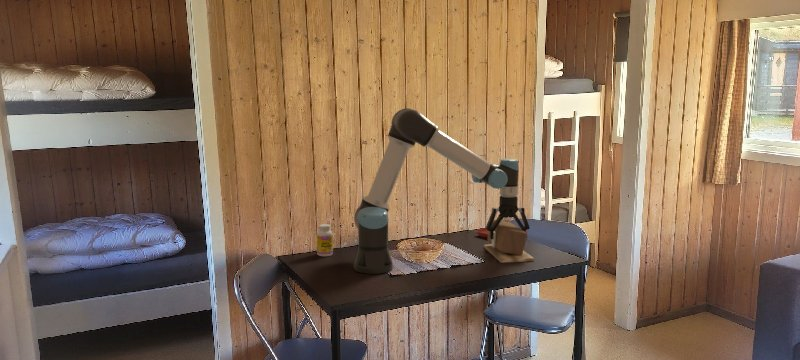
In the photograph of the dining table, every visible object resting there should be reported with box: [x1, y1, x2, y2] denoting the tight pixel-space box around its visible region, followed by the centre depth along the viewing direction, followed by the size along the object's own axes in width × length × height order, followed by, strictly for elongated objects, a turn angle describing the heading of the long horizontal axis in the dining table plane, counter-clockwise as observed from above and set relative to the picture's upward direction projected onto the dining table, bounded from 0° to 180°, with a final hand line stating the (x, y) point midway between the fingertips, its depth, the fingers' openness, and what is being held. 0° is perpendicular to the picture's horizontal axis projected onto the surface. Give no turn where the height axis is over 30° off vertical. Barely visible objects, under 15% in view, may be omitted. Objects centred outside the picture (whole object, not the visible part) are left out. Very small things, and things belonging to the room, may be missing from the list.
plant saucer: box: [475, 227, 529, 239], centre depth 296 cm, size 18×18×3 cm
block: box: [487, 219, 528, 255], centre depth 267 cm, size 10×10×20 cm
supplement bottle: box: [316, 223, 334, 257], centre depth 264 cm, size 7×7×13 cm
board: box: [483, 243, 535, 263], centre depth 266 cm, size 14×24×1 cm, turn 9°
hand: (507, 246), depth 266 cm, fingers closed on block, 11 cm apart
